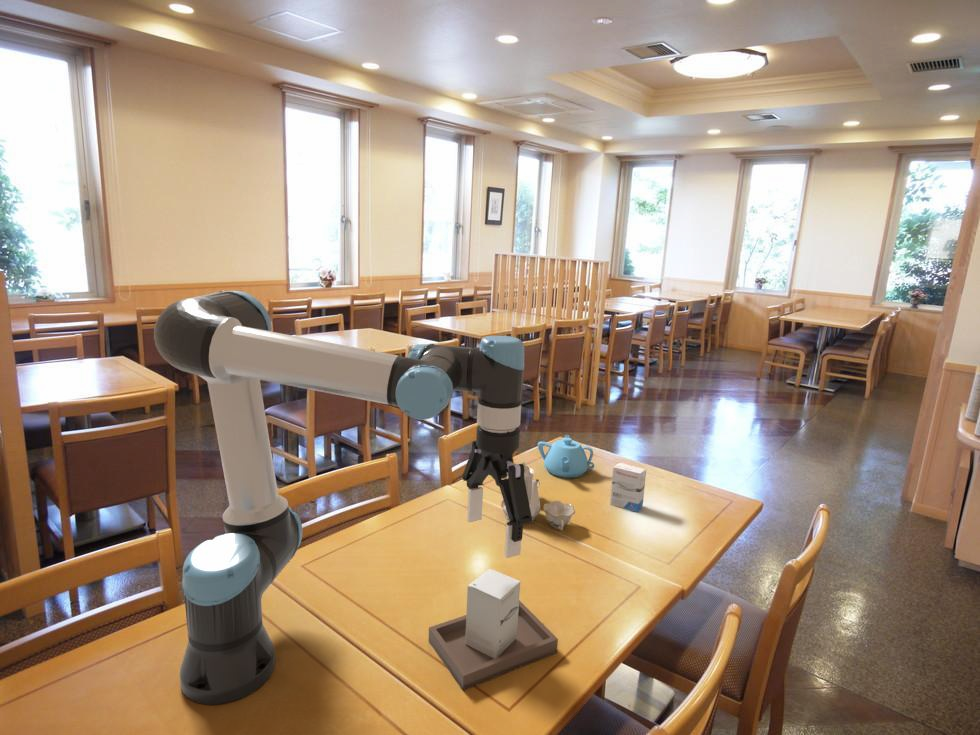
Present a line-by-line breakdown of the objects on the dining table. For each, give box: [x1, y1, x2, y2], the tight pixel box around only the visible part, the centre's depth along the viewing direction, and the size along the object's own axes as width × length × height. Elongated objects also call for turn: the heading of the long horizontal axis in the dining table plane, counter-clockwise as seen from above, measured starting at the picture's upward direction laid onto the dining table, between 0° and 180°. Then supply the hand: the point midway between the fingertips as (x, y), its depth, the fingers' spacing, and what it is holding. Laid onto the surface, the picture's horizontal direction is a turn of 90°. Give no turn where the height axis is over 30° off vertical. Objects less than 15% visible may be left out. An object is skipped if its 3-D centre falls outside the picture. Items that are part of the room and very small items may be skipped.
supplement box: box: [465, 568, 521, 659], centre depth 110 cm, size 7×7×13 cm
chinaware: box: [500, 461, 576, 531], centre depth 163 cm, size 28×17×17 cm, turn 34°
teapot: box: [537, 434, 595, 479], centre depth 193 cm, size 15×17×11 cm
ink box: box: [609, 462, 647, 513], centre depth 170 cm, size 8×5×12 cm, turn 58°
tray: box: [428, 599, 559, 691], centre depth 111 cm, size 20×14×3 cm
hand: (492, 537), depth 107 cm, fingers open, 13 cm apart
